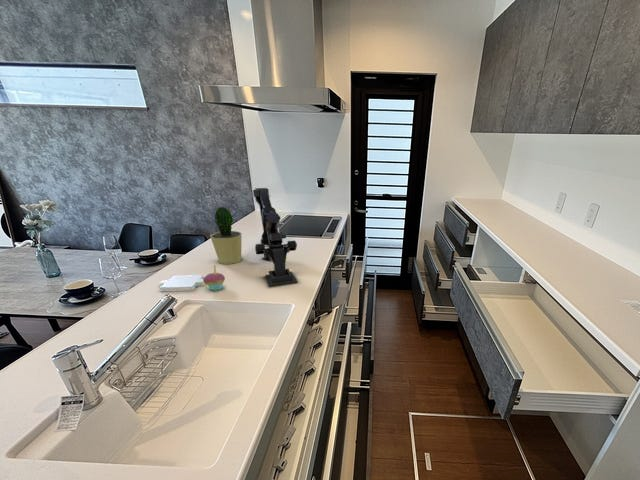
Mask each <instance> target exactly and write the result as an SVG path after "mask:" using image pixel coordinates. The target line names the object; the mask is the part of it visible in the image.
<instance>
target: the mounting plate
mask: <svg viewBox="0 0 640 480" xmlns="http://www.w3.org/2000/svg"><path fill="white" fill-rule="evenodd" d="M204 277H205V276H204V275H203V274H198V275H197V274H195V275H173V276H171V278H169V279H164V280H161V281H160V282H159V284H160V286H159V290H160V292H191V291H192V292H193V291H194V290H195V289H196V288H197V287H202V286H204V285H206V284H205V283H204V282H203V279H204Z"/></svg>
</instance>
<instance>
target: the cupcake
mask: <svg viewBox="0 0 640 480" xmlns="http://www.w3.org/2000/svg"><path fill="white" fill-rule="evenodd" d="M203 277H204V279H203V282H204V283H205V284H204V285H206V286H208V288H209V290H210V291H220V290H221V289H223V285H224V283H225V280H226V278H225V276H224V274H222V273H220V272H217V267H216V264H214V265H213V272H211V273H208V274H206V275H205V276H203Z"/></svg>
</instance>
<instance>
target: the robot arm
mask: <svg viewBox="0 0 640 480" xmlns="http://www.w3.org/2000/svg"><path fill="white" fill-rule="evenodd" d="M252 194H253V198H254V200H255V202H256V203H257V205H258V206H259V211H260V219H261V224H262V234H261V237H260V238H261V239H260V243H256V244H255V245H254V250H255V255H257V256H258V255H263V257H262V258H261V259H262V260H265V261H269V262H272V264H273V265H274V264H275V261H274V257H273V250H272V249H273V248H283V250H284V256H285V264H286V262H287V255H288V254H289V253H290V252H294V251H296V250H297V247H298V242H297V241H296V240H288V241H287V243H283V239H287V233H286V231H284V230H283V231H280V229H279V227H280V221H281V216H280V215H279V213H277V210H276V208H274V207H273V206H272V202H271V199H270V197H271V196H272V195H271V189H269V188H268V187H255V188H254V189H253V190H252Z"/></svg>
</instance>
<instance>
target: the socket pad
mask: <svg viewBox="0 0 640 480" xmlns="http://www.w3.org/2000/svg"><path fill="white" fill-rule="evenodd" d="M264 278H265V280H266V283H267V286H268V288H274V287H281V286H287V285H292V284H298V279H297V278H296V276H295V274H294V273H293V271H291V270H290V269H289V268H286V275H284V276H277V277H276V275H275V270H274V269H273V270H268V274H265V275H264Z"/></svg>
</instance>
